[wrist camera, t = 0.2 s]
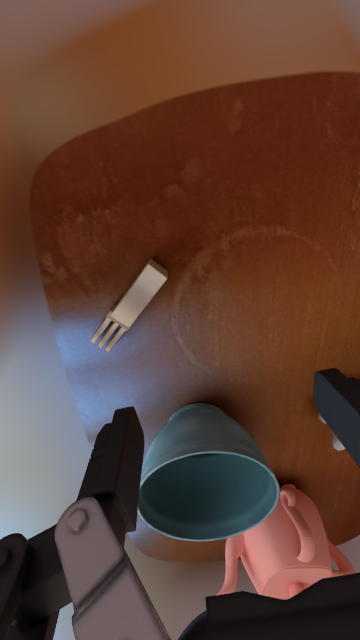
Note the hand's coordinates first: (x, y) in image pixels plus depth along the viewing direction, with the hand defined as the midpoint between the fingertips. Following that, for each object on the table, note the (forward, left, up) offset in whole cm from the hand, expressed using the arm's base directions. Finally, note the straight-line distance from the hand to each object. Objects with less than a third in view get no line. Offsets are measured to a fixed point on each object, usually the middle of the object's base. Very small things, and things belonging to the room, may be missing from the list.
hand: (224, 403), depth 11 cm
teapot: (+37, -24, -20) cm, 48 cm away
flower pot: (+15, -16, -20) cm, 29 cm away
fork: (-4, -6, -19) cm, 21 cm away
